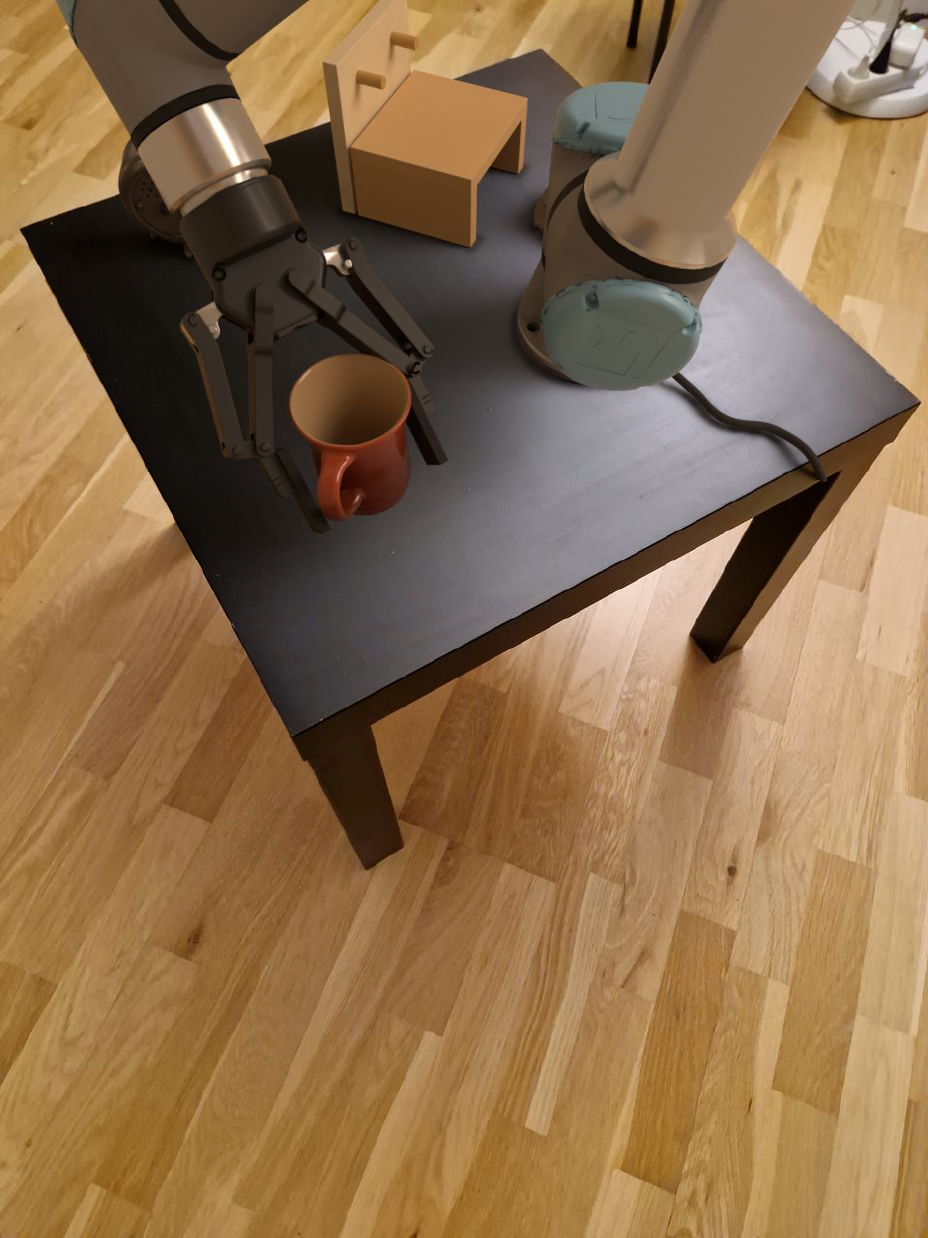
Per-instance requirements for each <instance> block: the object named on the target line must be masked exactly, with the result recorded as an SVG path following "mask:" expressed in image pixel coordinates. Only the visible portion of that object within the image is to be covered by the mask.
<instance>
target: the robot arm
mask: <svg viewBox="0 0 928 1238" xmlns="http://www.w3.org/2000/svg"><path fill="white" fill-rule="evenodd" d="M309 1H310V0H55V2H56V5H57V6H58V9H59V11H60V13H61V16H62V17H63V19H64V21H65V23H66V26H67V27H68V33H69V35H70V36H69V37H70V38H71V39H72V41H73V43H74V45H75V47H76V48H77V49H78V51H79V52H80V53H81V55H82V56H83V58H84V60H85V61H86V63H87V65H88V67H89V68H90V70H91V72H92V73H93V76H94V77H95V78H96V80H97V82H98V83H99V85H100V87H101V88H102V90H103V92H104V94H105V96H106V97H107V98H108V101H109V102H110V104H111V105H112V107H113V109H114V110H115V112H116V114H117V116H118V117H119V119H120V121H121V122H122V124H123V126H124V128H125V130H126V131H127V133H128V135H129V136H130V139H131V142H132V143H133V145H134V147H135V148H136V150H137V152H138V154H139V156H140V157H141V159H142V161H143V163H144V165H145V167H146V169H147V171H148V173H149V174H150V176H151V178H152V180H153V182H154V184H155V186H156V188H157V189H158V191H159V193H160V195H161V197H162V199H163V201H164V203H165V205H166V206H167V208H168V210H169V212H170V213H171V214H174V215H176V216H182V217H183V219H182V220H181V222H180V226H181V227H180V229H179V230H180V232H181V234H182V236H183V238H184V240H185V242H186V243H187V245H188V247H189V249H190V251H191V254H192V256H193V258H194V260H195V262H196V264H197V266H198V267H199V269H200V271H201V273H202V275H203V276H204V278H205V280H206V282H207V283H208V285H209V288H210V293H211V302H210V303H208V304H207V305H205V306H203V307H201V308H200V309H198V310H195V311H187V312H186V313H184V315H183V317H182V318H181V320H180V322H179V329H180V332H181V333H182V335H183V337H184V338H185V339H186V341H187V343H188V344H189V345H190V347H191V348H192V350H193V352H194V353H195V356H196V359H197V363H198V366H199V370H200V374H201V377H202V382H203V385H204V389H205V392H206V397H207V400H208V404H209V407H210V411H211V415H212V419H213V422H214V427H215V430H216V434H217V437H218V440H219V445H220V449H221V452H222V456H223V458H225V459H226V460H228V461H240V460H246V459H247V460H248V459H250V460H253V461H255V462H256V463H257V464H258V466H259V467H260V469H261V471H262V473H263V474H264V476H265V478H266V479H267V481H268V483H269V485H270V486H271V489H272V490H273V492H274V494H275V495H277V496H278V497H279V498H280V499H285V500H286V499H288V498H289V497H291V496H292V498H293V499H294V500H295V502H296V504H297V506H298V507H299V510H300V511H301V513H302V515H303V517H304V518H305V520H306V522H307V524H308V526H309V527H310V529H311V531H312V532H313V533H317V534H321V535H323V534H325V533H327V532H329V531H330V530H331V529H332V527H331V525H330V524H329V522H328V519H327V518H326V517H325V516H324V514H323V513H322V510H321V508H320V505H319V503H318V502H317V500H316V499H315V497H314V495H313V493H312V491H311V490H310V488H309V486H308V484H307V483H306V480H305V478H304V477H303V475H302V473H301V471H300V470H299V468H298V466H297V464H296V462H295V460H294V459H293V457H292V455H291V453H290V452H289V449H288V447H278V448H274V397H273V392H274V391H273V353H274V343H275V342H277V341H279V340H281V339H283V338H285V337H286V336H287V335H289V334H291V332H292V331H295V330H301V329H303V328H306V327H307V326H309V325H311V324H313V323H317V324H319V325H320V326H321V327H323V328H325V329H328V330H329V331H331V332H332V333H333V334H335V335H337V337H339V338H340V339H342V340H343V341H344V342H346V343H347V344H348V345H350V346H351V347H352V348H354V349H355V350H357V351H358V353H364V354H370V355H373V356H376V357H378V358H380V359H382V360H384V361H387V362H389V363H391V364H393V365H395V366H396V367H397V368H398V369H399V370H400V371H401V372H402V373H403V374H404V376H405V377H406V379H407V381H408V383H409V386H410V389H411V406H410V410H409V413H408V416H407V419H406V423H405V425H406V426H407V428H408V430H409V432H410V434H411V436H412V438H413V440H414V442H415V444H416V446H417V448H418V450H419V453H420V454H421V456H422V459H423V461H424V463H425V465H426V466H442V465H443V464H445V463H447V462H448V461H449V459H448V457H447V455H446V452H445V450H444V448H443V446H442V444H441V442H440V441H439V438H438V436H437V434H436V432H435V430H434V427H433V426H432V423H431V421H430V419H431V418H432V417H434V416H435V415H436V414H437V413H436V406H435V404H434V401H433V400H432V398H431V396H430V394H429V392H428V389H427V387H426V385H425V382H424V381H423V379H422V376H421V374H422V372H423V370H424V369H423V366H424V365H425V363H427V361H428V360H429V359H430V358H432V357H433V356H434V355H435V346H434V344H433V342H431V340H430V338H428V336H426V334H425V333H424V331H423V330H422V328H420V327H419V325H418V324H417V323H416V322H415V320H414V319H413V318H412V316H411V315H410V314H409V313H408V312H407V310H406V309H405V308H404V307H403V306H402V304H401V303H400V302H399V300H398V299H397V298H396V297H395V296H394V294H393V293H392V292H391V291H390V289H389V288H388V287H387V285H386V284H385V283H384V282H383V280H381V278H380V277H379V275H378V274H377V273H376V272H375V270H373V268H372V267H371V265H370V263H369V259H368V257H367V255H366V253H365V250H364V246H363V245H362V242H361V241H360V239H359V238H358V237H357V236H354V235H349V236H348V237H346V238H345V239H344V240H342V242H341V243H338V244H336V245H333V246H331V247H328V248H327V247H326V248H325V249H321V248H320V247H318V246H317V245H316V244H315V243H314V242H313V241H312V240H311V239H310V237H309V236H308V234H307V231H306V229H305V227H304V225H303V222H302V220H301V218H300V216H299V215H298V212H297V211H296V208H295V206H294V204H293V202H292V200H291V198H290V196H289V194H288V191H287V190H286V188H285V185H284V184H283V182H282V179H280V178H278V177H277V176H275V175H273V174H269V172H270V170H271V168H272V161H273V160H272V159H271V157H270V155H269V153H268V151H267V149H266V147H265V145H264V143H263V141H262V139H261V137H260V135H259V134H258V131H257V129H256V127H255V125H254V124H253V122H252V120H251V117H250V116H249V114H248V112H247V109H246V108H245V106H244V104H243V102H242V99H241V97H240V95H239V94H238V92H237V89H236V86H235V84H234V83H233V79H232V77H231V74H230V73H229V70H228V68H227V66H228V65H229V64H230V63H231V62H233V60H235V59H237V58H238V57H239V56H240V55H242V54H243V53H245V51H247V49H249V48H250V47H251V46H253V45H254V44H256V42H258V41H259V40H260V39H261V38H263V37H264V36H265V35H267V34H268V33H270V32H271V31H272V30H273V29H274V28H276V27H277V26H279V25H280V24H281V23H282V22H284V21H285V20H286V19H287V18H289V17H290V16H291V15H292V14H294V13H295V12H297V10H299V9H300V8H301V7H303V6H304V5H305V4H306V3H308V2H309ZM857 1H858V0H686V1H685V2H684V6H683V8H682V10H681V12H680V15H679V17H678V19H677V21H676V24H675V26H674V28H673V31H672V33H671V34H670V37H669V40H668V42H667V44H666V46H665V48H664V51H663V53H662V56H661V58H660V60H659V62H658V65H657V67H656V70H655V72H654V73H653V77H652V79H651V81H650V83H649V84H648V83H643V82H634V81H606V82H599V83H595V84H591V85H588V86H585V87H582V88H581V87H580V88H579V89H576V90H574V91H573V92H572V93H570V94H568V95H567V96H566V97H565V98H564V99H563V100H562V102H561V103H560V104H559V106H558V108H557V110H556V113H555V119H554V125H553V130H552V131H551V133H550V141H551V142H552V143H551V154H550V163H549V172H548V183H547V188H548V193H547V203H546V213H545V223H544V233H543V232H542V233H543V234H542V245H541V256H540V259H539V261H538V263H537V266H536V268H535V269H534V272H533V274H532V276H531V278H530V280H529V282H528V284H527V286H526V288H525V290H524V292H523V294H522V295H521V298H520V300H519V303H518V307H517V315H516V316H517V318H516V335H517V339H518V342H519V344H520V346H521V348H522V350H523V351H524V353H525V355H526V356H528V358H529V359H530V360H531V361H532V362H533V363H534V364H535V365H537V366H538V367H539V368H541V369H542V370H544V371H546V372H547V373H549V374H551V375H553V376H556V377H558V378H560V379H564V380H566V381H570V382H575V383H578V384H580V385H583V386H586V387H588V388H593V389H596V390H601V391H602V390H603V391H611V392H623V391H624V392H626V391H636V390H638V389H640V388H643V387H652V386H656V385H658V384H661V383H663V382H666V381H667V380H669V379H670V378H671V379H673V380H674V382H676V383H677V384H678V385H679V386H681V387H682V388H683V389H684V390H685V391H686V392H687V393H688V394H690V396H691V397H693V398H694V400H696V401H697V402H698V404H699V405H700V406H701V407H702V409H704V411H706V413H708V414H709V415H710V416H711V417H712V418H713V419H715V420H717V421H718V422H720V423H721V424H723V425H725V426H729V427H730V428H731V427H732V428H736V429H742V430H752V431H761V432H766V433H769V434H772V435H774V436H775V437H778V438H780V439H781V440H783V441H785V442H787V443H789V444H790V445H792V447H795V448H796V449H797V450H798V451H800V452H801V454H802V455H803V456H804V457H805V458H806V459H807V461H808V462H809V464H810V466H811V468H812V469H813V472H814V474H815V477H816V479H817V480H818V481H819V482H822V483H826V482H827V481H828V477H827V473H826V472H825V469H824V466H823V465H822V462H821V461H820V458H819V457H818V455H817V454H816V452H815V451H814V450H813V449H812V447H810V445H808V444H807V443H806V442H805V441H804V440H802V439H801V438H800V437H798V436H797V435H795V434H793V432H790V431H789V430H787V429H785V428H783V427H780V426H779V425H776V424H773V423H771V422H767V421H760V420H751V419H750V420H749V419H740V418H736V417H733V416H730V415H727V414H726V413H724V412H722V411H721V410H720V409H718V408H717V407H716V406H714V404H712V402H711V401H710V400H709V399H708V398H707V396H705V395H704V393H703V392H701V390H700V389H698V388H697V386H695V385H694V384H693V383H692V382H691V381H690V380H688V378H686V377H685V376H684V375H683V374H682V373H680V372H681V371H682V370H683V369H684V368H686V366H687V365H688V364H689V363H690V361H692V359H693V357H694V356H695V354H696V352H697V350H698V347H699V344H700V340H701V339H700V338H701V334H702V329H703V324H704V323H703V318H702V315H701V313H700V307H701V304H702V301H703V298H704V297H705V295H706V293H707V292H708V290H709V289H710V287H711V285H712V284H713V282H714V281H715V279H716V277H717V275H718V274H719V272H720V271H721V269H722V267H723V266H724V265H725V262H726V261H727V260H728V258H729V256H730V255H731V253H732V251H733V250H734V248H735V245H736V243H737V241H738V233H739V232H738V225H737V224H738V223H737V220H736V217H735V214H734V211H733V208H734V206H735V204H736V203H737V201H738V200H739V197H740V196H741V194H742V193H743V191H744V189H745V188H746V186H747V184H748V183H749V182H750V179H751V178H752V176H753V174H754V173H755V171H756V170H757V168H758V166H759V165H760V162H761V161H762V160H763V157H764V156H765V155H766V153H767V151H768V149H769V148H770V146H771V145H772V143H773V141H774V139H776V138H775V137H776V136H777V135H778V133H779V131H780V130H781V128H782V127H783V124H784V123H785V121H786V120H787V118H788V116H789V114H791V111H792V110H793V108H794V106H795V104H796V103H797V101H798V99H799V98H800V96H801V95H802V93H803V91H804V89H805V88H806V86H807V85H808V83H809V81H810V80H811V78H812V76H813V74H814V73H815V71H816V69H817V68H818V66H819V64H820V63H821V62H822V59H823V58H824V56H825V54H826V53H827V51H828V49H829V47H830V46H831V45H832V43H833V42H834V40H835V38H836V36H837V34H838V33H839V31H840V30H841V28H842V27H843V24H844V23H845V21H846V19H847V18H848V17H849V15H850V13H851V11H852V10H853V8H854V6H855V5H856V3H857ZM328 268H330V269H331V270H332V271H334V273H335V274H336V276H337V277H340V278H344V279H345V280H346V282H347V284H348V285H349V287H350V288H351V289H352V291H353V292H354V293H355V294H356V296H357V297H358V298H359V300H361V302H362V303H363V304H364V305H365V307H366V308H367V309H368V311H370V313H371V314H372V315H373V316H374V317H375V319H376V320H377V321H378V323H380V325H381V326H382V327H383V328H384V330H385V331H386V332H387V334H389V336H390V337H391V338H392V339H393V341H394V342H395V343H396V344H397V345H398V347H399V348H400V349H399V348H398V347H397V346H396V345H394V344H393V343H391V342H390V341H389V340H388V339H387V338H385V337H384V336H382V335H381V334H380V333H379V332H377V331H376V330H375V329H373V328H372V327H371V326H369V324H367V323H365V322H364V321H363V320H362V319H360V318H359V317H358V316H357V315H355V314H354V313H353V312H351V311H350V310H349V309H348V308H347V307H346V305H345V304H344V303H343V302H342V301H341V300H340V299H338V298H337V297H335V296H334V295H333V294H332V293H330V292H329V291H327V290H326V282H327V281H326V280H327V270H328ZM220 318H221V319H223V320H225V321H227V322H229V323H230V324H232V325H234V326H235V327H237V328H239V329H240V330H242V331H245V351H246V352H245V354H246V357H247V385H248V386H247V389H248V390H247V391H248V439H249V440H244V438H243V433H242V429H241V426H240V422H239V419H238V415H237V410H236V407H235V404H234V399H233V395H232V392H231V388H230V384H229V380H228V376H227V373H226V369H225V365H224V361H223V357H222V353H221V349H220V348H219V344H218V343H217V339H218V338H219V337H220V335H221V329H220V326H219V319H220Z"/></svg>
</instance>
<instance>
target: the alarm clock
mask: <svg viewBox="0 0 928 1238" xmlns="http://www.w3.org/2000/svg"><path fill="white" fill-rule="evenodd" d="M120 162H121V163H120V168H119V172H118V178H117V186H118V193H119V197H120V200H121V202H122V204H123V206H124V208H125V209H126V211H127V212H128V214H129V215H130V217H131V218H132V219H133V220H134V221H135V222H136V223H137V224H138V225H139V226H140V227H142V228H143V229H144V230H146V231H147V232H148V233H150V237H151V239H152V240H156V239H157V238H160V239H162V240H165V241H168V242H171V243H177V244H181V245H182V248H183V251H184V255H185V256H186V258H192V256H193V254H192V253H191V251H190V249H189V247H188V245H187V243H186V242H185V240H184V238H183V236H182V234H181V232H180V230H179V229H180V227H181V226H180V222H181V220H182V219H183V217H182V216H176V215H174V214H171V213H170V212H169V210H168V208H167V206H166V205H165V203H164V201H163V199H162V197H161V195H160V193H159V191H158V189H157V188H156V186H155V184H154V182H153V180H152V178H151V176H150V174H149V173H148V171H147V169H146V167H145V165H144V163H143V161H142V159H141V157H140V156H139V154H138V152H137V150H136V148H135V147H134V145H133V143H132V142H131V138H130V139H129V140H128V141H127V143H126V145H125V147H124V149H123V151H122V156H121V161H120Z"/></svg>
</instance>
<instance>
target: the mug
mask: <svg viewBox="0 0 928 1238" xmlns="http://www.w3.org/2000/svg"><path fill="white" fill-rule="evenodd" d="M287 405H288V413H289V417H290V419H291V422H292V424H293V425H294V427H295V428H296V430H297V431H298V432H299V434H300V435H301V436H302V437H303V438H304V439H305V440H306V441H307V442H308V444H309V447H310V451H311V456H312V460H313V463H314V467H315V470H316V476H317V484H316V496H317V501H318V502H317V503H318V506H319V508H320V510H321V511H322V513H323V515H324V517H325V519H326V520H330V521H331V522H337V523H345V522H347V521H348V520H349V519H351V517H352V516H375V515H378V514H381V513H384V512H386V511H389V510H390V509H392V508H393V507H394V506H396V505H397V504H398V503H399V502H400V501H401V500H402V499H403V497H404V496H405V494H406V492H407V491H408V487H409V485H410V479H411V474H412V473H411V472H412V458H411V455H410V449H409V442H408V437H407V433H406V419H407V416H408V413H409V410H410V406H411V389H410V386H409V383H408V381H407V379H406V377H405V376H404V374H403V373H402V372H401V371H400V370H399V369H398V368H397V367H396V366H395V365H393V364H391V363H389V362H387V361H384V360H382V359H380V358H378V357H376V356H373V355H370V354H364V353H361V352H347V353H339V354H335V355H331V356H329V357H326V358H323V359H321V360H318V361H317V362H316V363H313V364H312V365H311V366H309V367H308V368H306V369H305V371H303V372H302V373H301V374H300V376H299V377H298V378H297V379H296V381H294V383H293V386H292V387H291V389H290V393H289V397H288V404H287Z"/></svg>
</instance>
